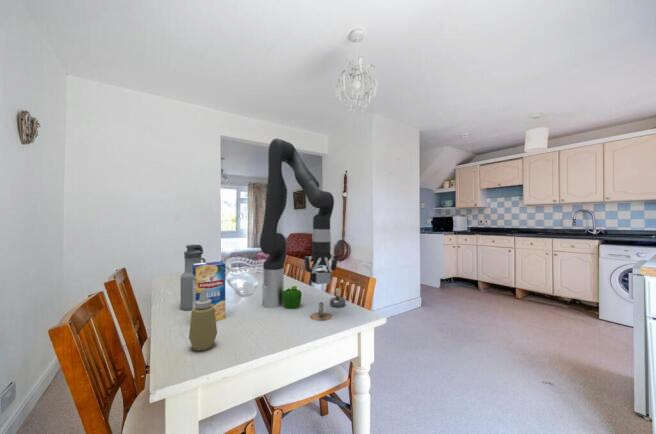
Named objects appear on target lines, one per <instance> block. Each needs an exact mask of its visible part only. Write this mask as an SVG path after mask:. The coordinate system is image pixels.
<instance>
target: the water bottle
mask: <svg viewBox="0 0 656 434" xmlns="http://www.w3.org/2000/svg"><path fill="white" fill-rule="evenodd" d="M185 249H186V250H185V251H184V252H183V253H184V272H183V273H182V274H181V275H180V309H181V310H183V311H192V289H193V265H192V264H198V263H206V259H205V258H204V257H202V255H203V254H204V249H203V246H202V245H201V244H188V245H185ZM202 261H203V262H202Z"/></svg>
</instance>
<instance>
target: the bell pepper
mask: <svg viewBox="0 0 656 434" xmlns="http://www.w3.org/2000/svg"><path fill="white" fill-rule="evenodd" d="M297 288H298V286H297V285H293V286H292V287H291V288H289V287H288V288H287V289H284V291H283V293H282V299H283V303H284V305H283V306H284V308H285V309H290V310H291V309H298V308H299V307H300V305H301V301H302V290H300V289H297Z"/></svg>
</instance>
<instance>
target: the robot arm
mask: <svg viewBox="0 0 656 434" xmlns="http://www.w3.org/2000/svg"><path fill="white" fill-rule="evenodd" d="M267 153H268V156H267V159H268V160H267V163H268V168H267V169H268V171H267V173H268V175H267V185H266V186H267V188H266V195H265V208H264V216H263V223H262V229H261V233H260V238H259V239H260V240H259V247H260V249H261V252H262V253H263V254H265V255H268V257H267V258H266V259H265V260H264V262H263V269H262V270H263V271H262V272H263V275H262V277H263V280H262V292H261V293H262V295H261V296H262V298H261V301H262V306H263V308H264V309H266V308H267V309H268V308H269V309H274V308H275V309H276V308H279V307H282V306H284V303H283V299H282V293H283V291H285V289H284V288H285V287H284V286H285V285H284V284H285V283H284V281H285V277H284V275H285V273H284V269H285V267H284V266H285V263H286V256H287V255H286V254H287V241H286V237H285V236H284V234H282V233H279V232H278V225H279V221H280V220H281V217H282V216H283V214H284V211H285V209H286V206H287V203H288V202H287V199H288V188H287V185H286V182H285V178H284V175H283V169H282V168H283V163H286V164H287V165H288V166H289V167H290V168H291V169H292V170H293V173H294V174H293V175H294V177H295V181H296V182H297V183H298V185H299V186H300V188H301V189H302V190H303V191H304V193H305V195H306V198H307V201H308V202H309V204H310V205H311V206H312V207H313V208H315V209H318V213H317V214H315V215H313V218H312V234H311V243H312V244H311V255H310V256H304V259H303V260H304V268H305V272H307V273H310V274H309V275H310V276H309V277H310V278H309V279H310V282H311V283H313V284H315V271H317V269H318V267H321V266H324V267H325V268H326V269H325V270H326V271H328V272H330V273H331V274H332V272H334V271H336V270H337V264H338V256H337V255H335V254H333V255H332V254H331V250H332V249H331V247H332V246H331V243H332V242H331V240H332V235H331V218H332V215H333V210H334V207H335V199H334V195H333V194H332V193H331V192H330V191H325V190H320V183H319V181H318V179H317V178H316V177H315V175H313V173H312V172H311V171H310V170H309V168H308V167H307V165H306V164H305V163H304V161H303V160H302V158H301V156H300V155H299V153H298V150H297V149H296V147H295V146H294V145H293V143H291V142H289V141H287V140H283V139H280V138H273V139H272V141H270V144H269V146H268V151H267ZM330 260H331V263H330ZM311 261H312V264H310V262H311Z"/></svg>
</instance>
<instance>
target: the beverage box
mask: <svg viewBox="0 0 656 434" xmlns="http://www.w3.org/2000/svg"><path fill="white" fill-rule="evenodd" d="M192 265H193V289H192V310H193V309H194V308H195V302H196V301H198V300H199V298H200V294H201V290H202V289H205V290H206V294H207V298H208V299H210V300H211V306H213V307H214V308H215V317H216V321H218V320H219V321H221V320H223V319H224V320H225V319H226V263H225V262H222V261H211V262H205V263H203V262H201V263H198V264H192ZM192 310H191V311H192Z"/></svg>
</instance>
